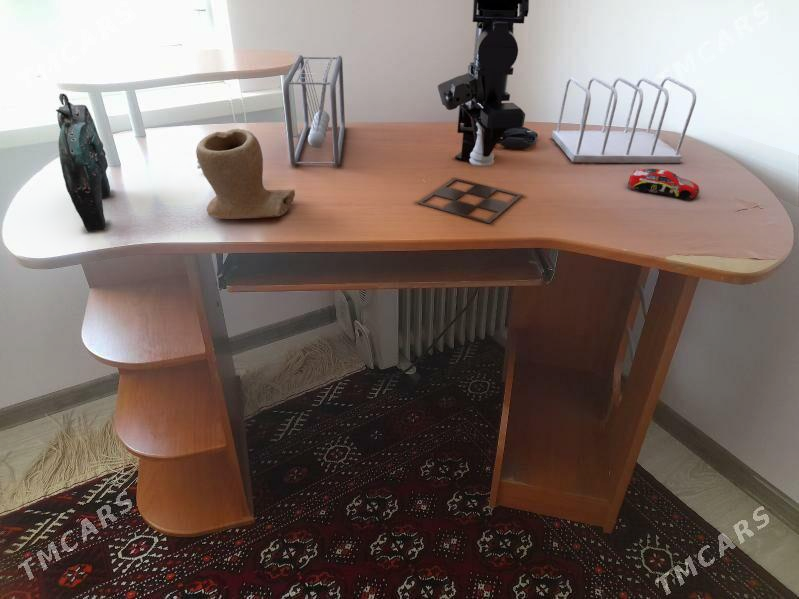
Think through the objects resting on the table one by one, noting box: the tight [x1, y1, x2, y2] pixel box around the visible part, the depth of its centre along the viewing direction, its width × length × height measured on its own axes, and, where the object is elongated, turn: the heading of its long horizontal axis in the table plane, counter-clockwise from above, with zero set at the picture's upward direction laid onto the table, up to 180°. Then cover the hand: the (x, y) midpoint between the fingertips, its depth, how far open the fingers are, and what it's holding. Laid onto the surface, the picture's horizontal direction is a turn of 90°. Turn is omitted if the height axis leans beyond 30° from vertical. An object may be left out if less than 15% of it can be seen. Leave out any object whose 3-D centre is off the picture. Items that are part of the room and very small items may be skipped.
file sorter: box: [551, 76, 697, 164], centre depth 126 cm, size 25×17×16 cm
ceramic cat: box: [55, 93, 111, 233], centre depth 94 cm, size 20×6×20 cm, turn 21°
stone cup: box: [195, 128, 296, 220], centre depth 95 cm, size 15×12×15 cm
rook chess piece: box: [469, 117, 495, 168], centre depth 96 cm, size 4×4×8 cm
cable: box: [496, 126, 539, 150], centre depth 134 cm, size 17×14×4 cm
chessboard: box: [417, 177, 523, 225], centre depth 106 cm, size 15×15×1 cm
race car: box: [627, 168, 700, 201], centre depth 109 cm, size 13×5×4 cm, turn 63°
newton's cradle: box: [282, 54, 346, 167], centre depth 125 cm, size 30×10×18 cm, turn 2°
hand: (482, 152), depth 97 cm, fingers closed on rook chess piece, 3 cm apart
